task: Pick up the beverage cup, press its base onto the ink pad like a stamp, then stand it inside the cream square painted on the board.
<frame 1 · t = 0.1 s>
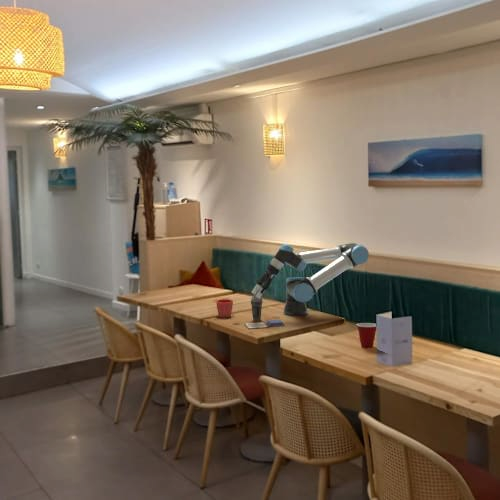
hand: (255, 295, 383), 15 cm above the table, tool tilted 35°, fingers open, 13 cm apart
beverage cup: (256, 320, 385), on the table
marked board: (256, 326, 370), on the table
flower pot: (224, 316, 399), on the table
plastic cup: (366, 347, 322), on the table
ink pad: (275, 324, 373), on the table
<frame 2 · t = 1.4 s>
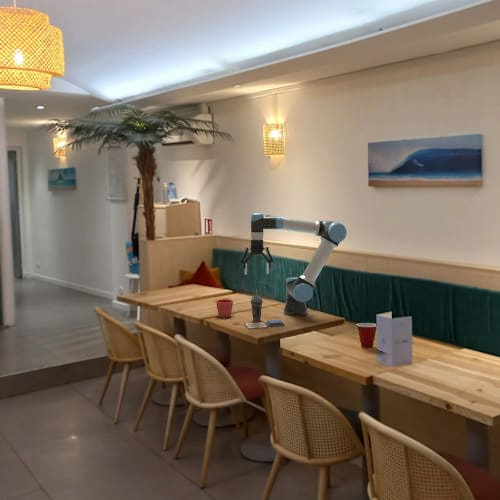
hand: (256, 274, 382), 28 cm above the table, tool pointing down, fingers open, 13 cm apart
nothing on the table moved.
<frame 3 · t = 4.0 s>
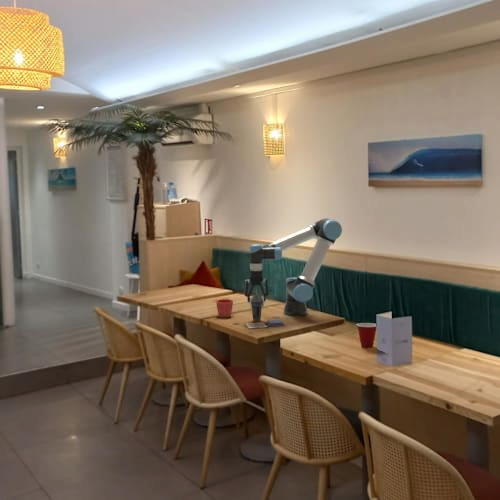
hand: (256, 307, 384), 8 cm above the table, tool pointing down, fingers closed on beverage cup, 7 cm apart
beverage cup: (256, 320, 385), on the table, touching gripper
everything else where it was.
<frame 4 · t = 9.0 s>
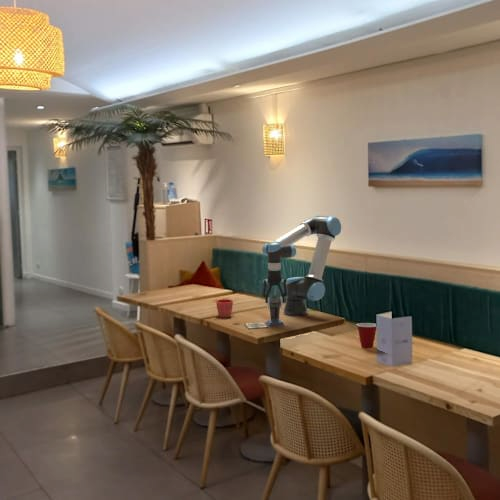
hand: (274, 308, 372), 10 cm above the table, tool pointing down, fingers closed on beverage cup, 7 cm apart
beverage cup: (274, 321, 373), point 2 cm above the table, touching gripper, ink pad
everything else where it was.
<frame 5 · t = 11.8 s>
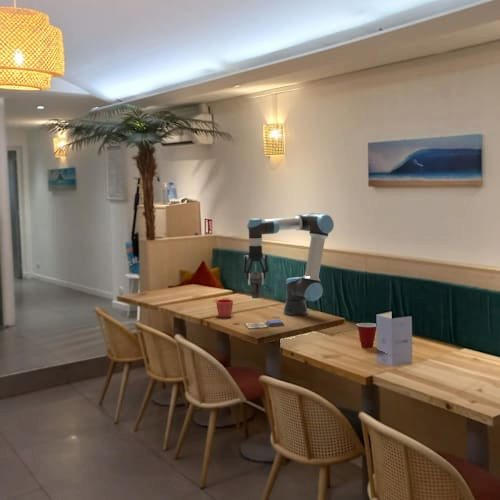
hand: (255, 284, 367), 25 cm above the table, tool pointing down, fingers closed on beverage cup, 7 cm apart
beverage cup: (256, 298, 368), point 17 cm above the table, touching gripper
everything else where it was.
when the fingers open (10 cm above the table, at t = 14.1 s): beverage cup drops 2 cm, resting on marked board.
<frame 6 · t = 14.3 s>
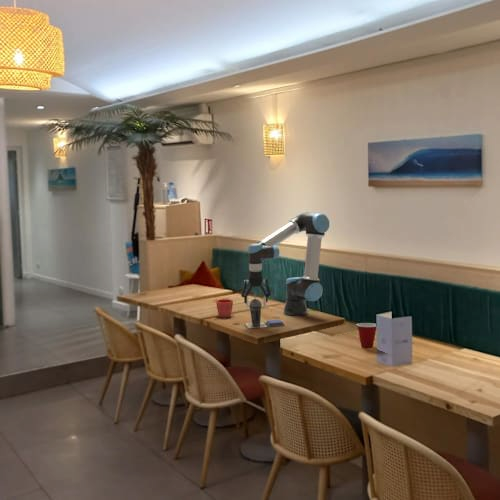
hand: (256, 308, 369), 11 cm above the table, tool pointing down, fingers open, 10 cm apart
beverage cup: (256, 325, 370), resting on marked board
everything else where it was.
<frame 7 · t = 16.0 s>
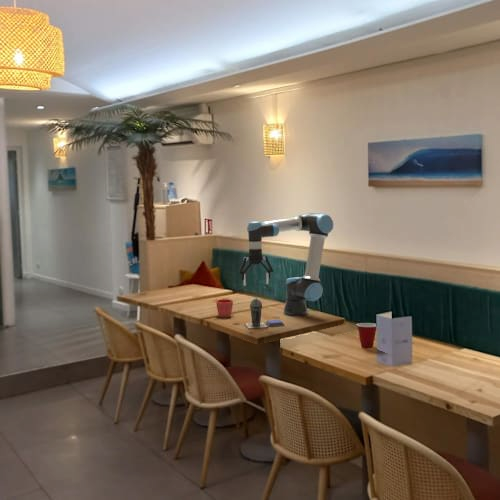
hand: (256, 284, 367), 25 cm above the table, tool pointing down, fingers open, 13 cm apart
nothing on the table moved.
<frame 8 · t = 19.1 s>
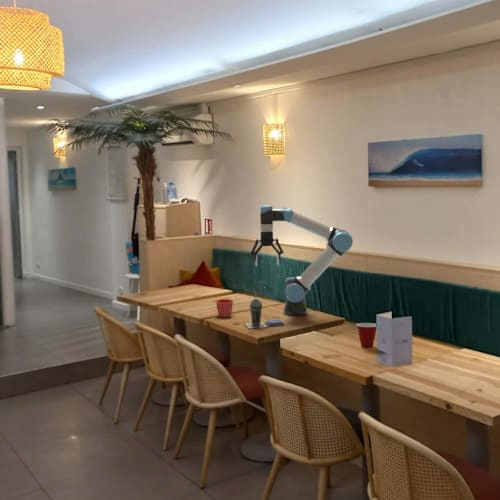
hand: (267, 265, 388), 33 cm above the table, tool pointing down, fingers open, 13 cm apart
nothing on the table moved.
at the end: beverage cup 0.0 cm off-centre on the marked board, point 0.3 cm above the marked board's base; beverage cup tilted 0°; the gripper is holding nothing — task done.
